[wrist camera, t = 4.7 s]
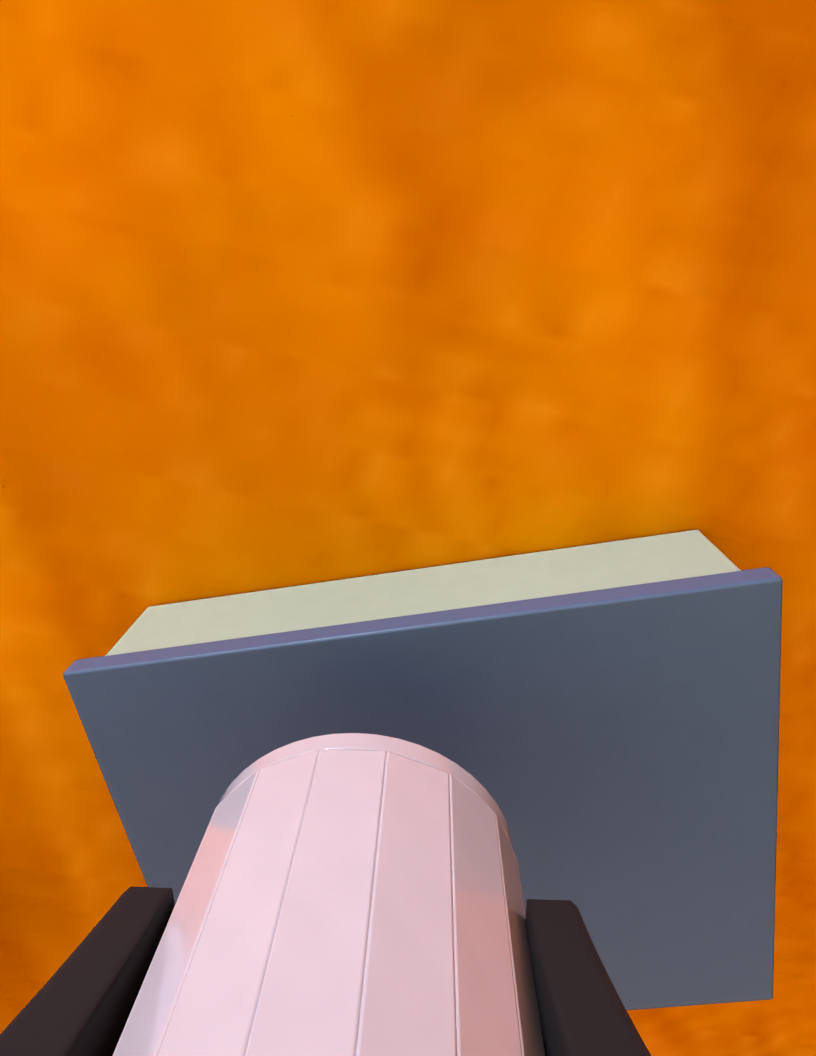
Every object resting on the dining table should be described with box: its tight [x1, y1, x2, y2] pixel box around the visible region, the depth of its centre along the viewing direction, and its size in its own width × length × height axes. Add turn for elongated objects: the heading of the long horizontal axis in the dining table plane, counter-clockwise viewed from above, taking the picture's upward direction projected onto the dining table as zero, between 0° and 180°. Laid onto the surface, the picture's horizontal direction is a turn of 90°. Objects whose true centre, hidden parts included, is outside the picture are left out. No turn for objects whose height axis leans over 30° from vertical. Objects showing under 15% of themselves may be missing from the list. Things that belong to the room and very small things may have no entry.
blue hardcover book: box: [63, 530, 782, 1010], centre depth 17 cm, size 15×12×4 cm
